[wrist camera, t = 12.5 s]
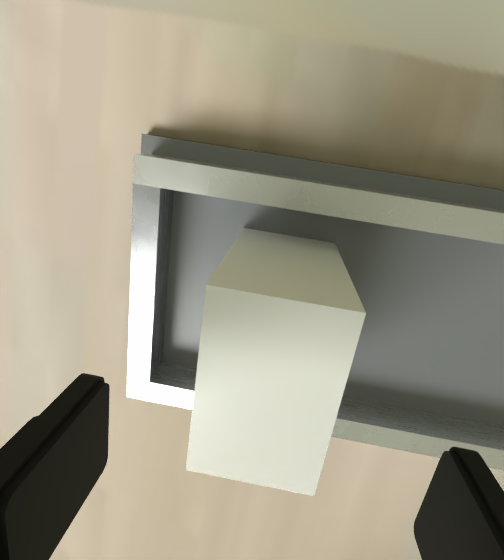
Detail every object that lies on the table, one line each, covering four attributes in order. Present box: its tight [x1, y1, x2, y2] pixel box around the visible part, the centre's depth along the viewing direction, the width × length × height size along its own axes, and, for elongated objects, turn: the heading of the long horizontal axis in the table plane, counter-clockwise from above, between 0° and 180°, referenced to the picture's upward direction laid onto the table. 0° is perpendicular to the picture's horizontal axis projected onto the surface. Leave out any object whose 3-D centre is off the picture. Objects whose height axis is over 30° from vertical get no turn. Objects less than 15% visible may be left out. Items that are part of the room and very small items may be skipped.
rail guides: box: [127, 154, 504, 470], centre depth 18 cm, size 21×12×2 cm, turn 82°
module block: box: [186, 228, 366, 496], centre depth 15 cm, size 4×7×8 cm, turn 172°
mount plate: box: [141, 134, 504, 426], centre depth 19 cm, size 22×14×1 cm, turn 82°
